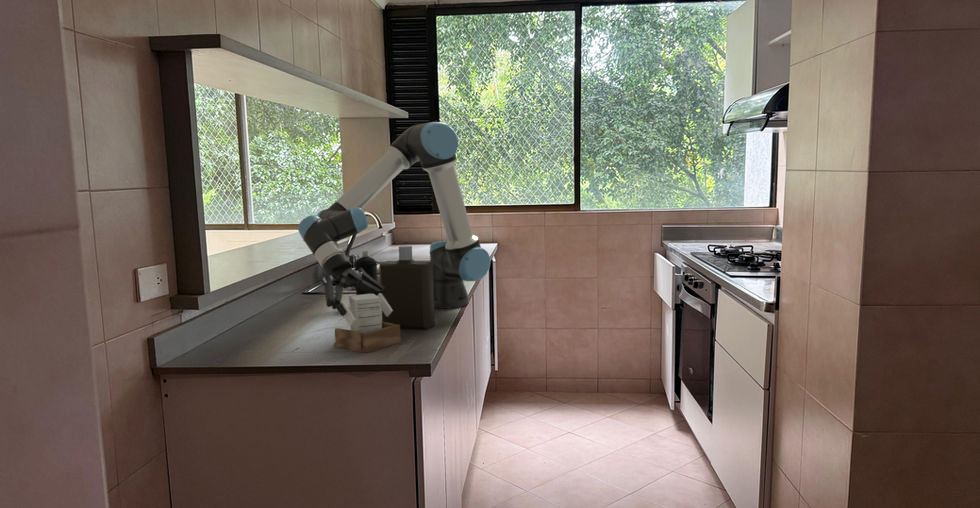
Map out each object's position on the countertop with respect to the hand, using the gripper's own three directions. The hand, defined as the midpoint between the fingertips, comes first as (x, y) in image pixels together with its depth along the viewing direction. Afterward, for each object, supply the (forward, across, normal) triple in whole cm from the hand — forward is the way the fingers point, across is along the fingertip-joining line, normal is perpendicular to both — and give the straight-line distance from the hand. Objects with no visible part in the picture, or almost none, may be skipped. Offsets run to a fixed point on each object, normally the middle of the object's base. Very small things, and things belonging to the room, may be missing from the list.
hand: (372, 318), depth 180 cm
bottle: (0, -22, -11) cm, 24 cm away
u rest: (+4, 0, -7) cm, 8 cm away
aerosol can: (-24, -36, -35) cm, 56 cm away
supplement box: (+3, 0, -7) cm, 7 cm away
